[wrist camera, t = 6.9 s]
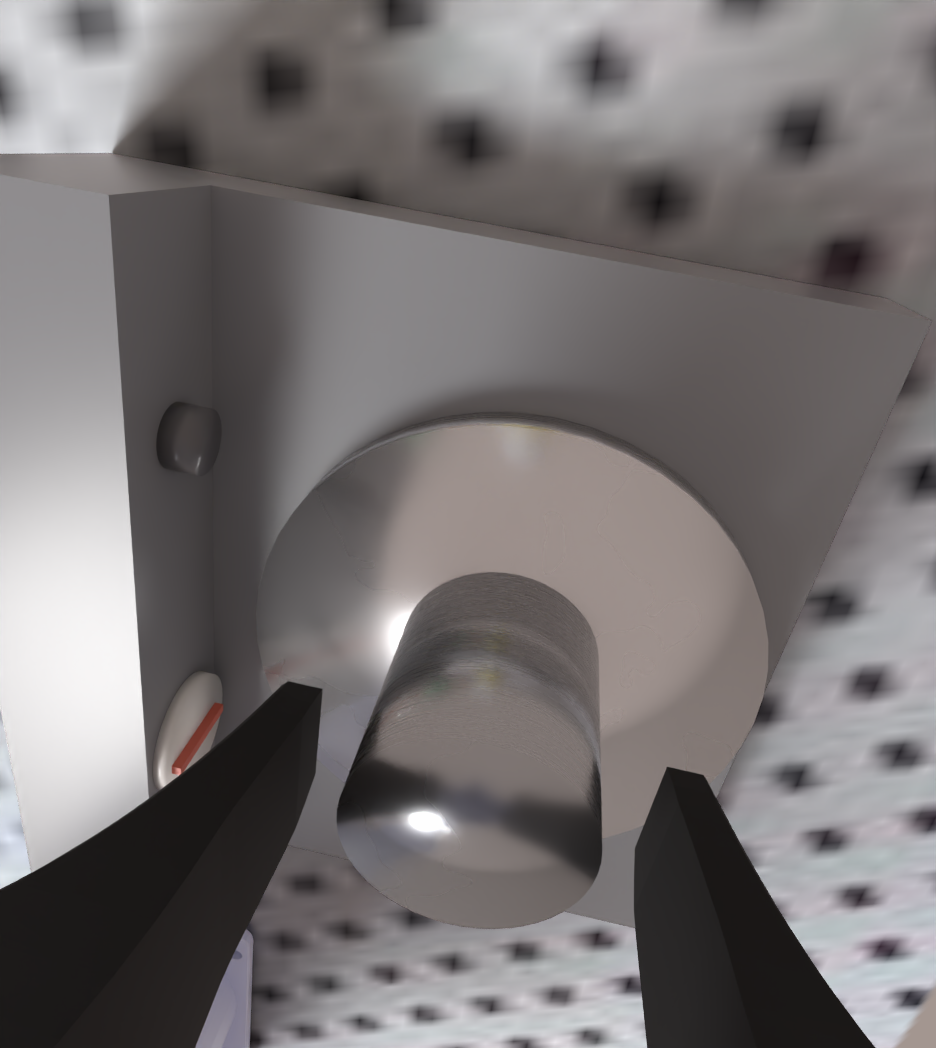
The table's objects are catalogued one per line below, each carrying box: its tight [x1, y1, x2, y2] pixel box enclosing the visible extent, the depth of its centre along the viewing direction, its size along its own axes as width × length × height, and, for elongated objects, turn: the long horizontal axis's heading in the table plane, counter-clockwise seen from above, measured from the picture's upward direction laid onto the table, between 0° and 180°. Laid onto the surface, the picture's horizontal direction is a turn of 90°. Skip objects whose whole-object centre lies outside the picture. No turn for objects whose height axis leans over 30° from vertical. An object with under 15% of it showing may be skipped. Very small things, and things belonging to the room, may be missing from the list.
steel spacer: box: [336, 572, 602, 929], centre depth 13 cm, size 4×4×4 cm
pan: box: [256, 412, 768, 839], centre depth 15 cm, size 10×10×1 cm
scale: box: [0, 153, 932, 928], centre depth 15 cm, size 16×15×5 cm
